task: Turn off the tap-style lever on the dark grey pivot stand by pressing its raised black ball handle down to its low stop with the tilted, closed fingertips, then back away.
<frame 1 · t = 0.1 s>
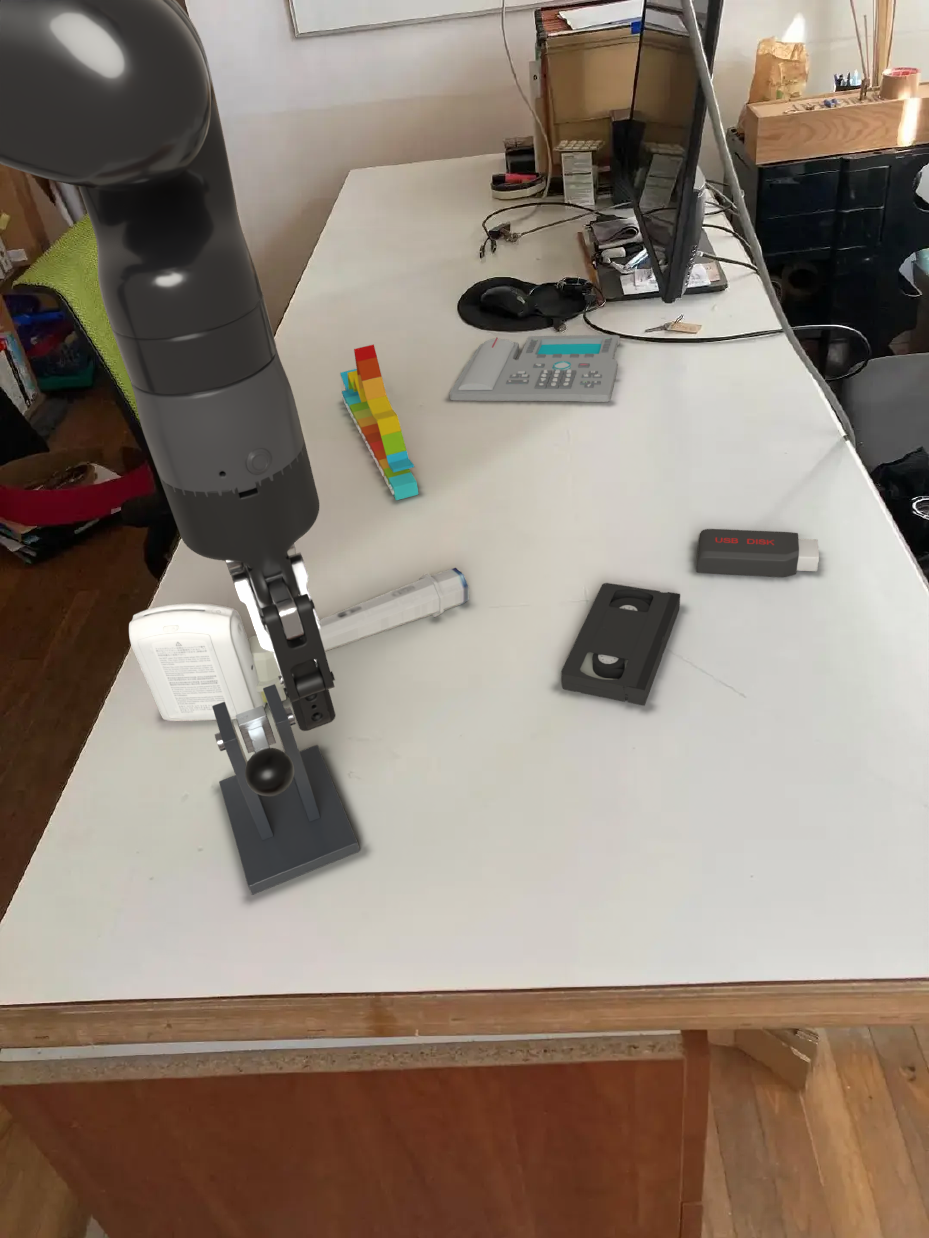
hand: (299, 678, 57), 23 cm above the table, tool pointing down, fingers open, 8 cm apart
vhs tape: (622, 649, 90), on the table
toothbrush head: (359, 650, 94), on the table, touching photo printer
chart: (377, 446, 127), on the table
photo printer: (216, 709, 90), on the table, touching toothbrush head
tap lever: (262, 749, 66), point 13 cm above the table, hinge at 25.0°
usb drive: (755, 562, 98), on the table
office telephone: (540, 372, 139), on the table
dark grey pivot stand: (288, 819, 78), on the table
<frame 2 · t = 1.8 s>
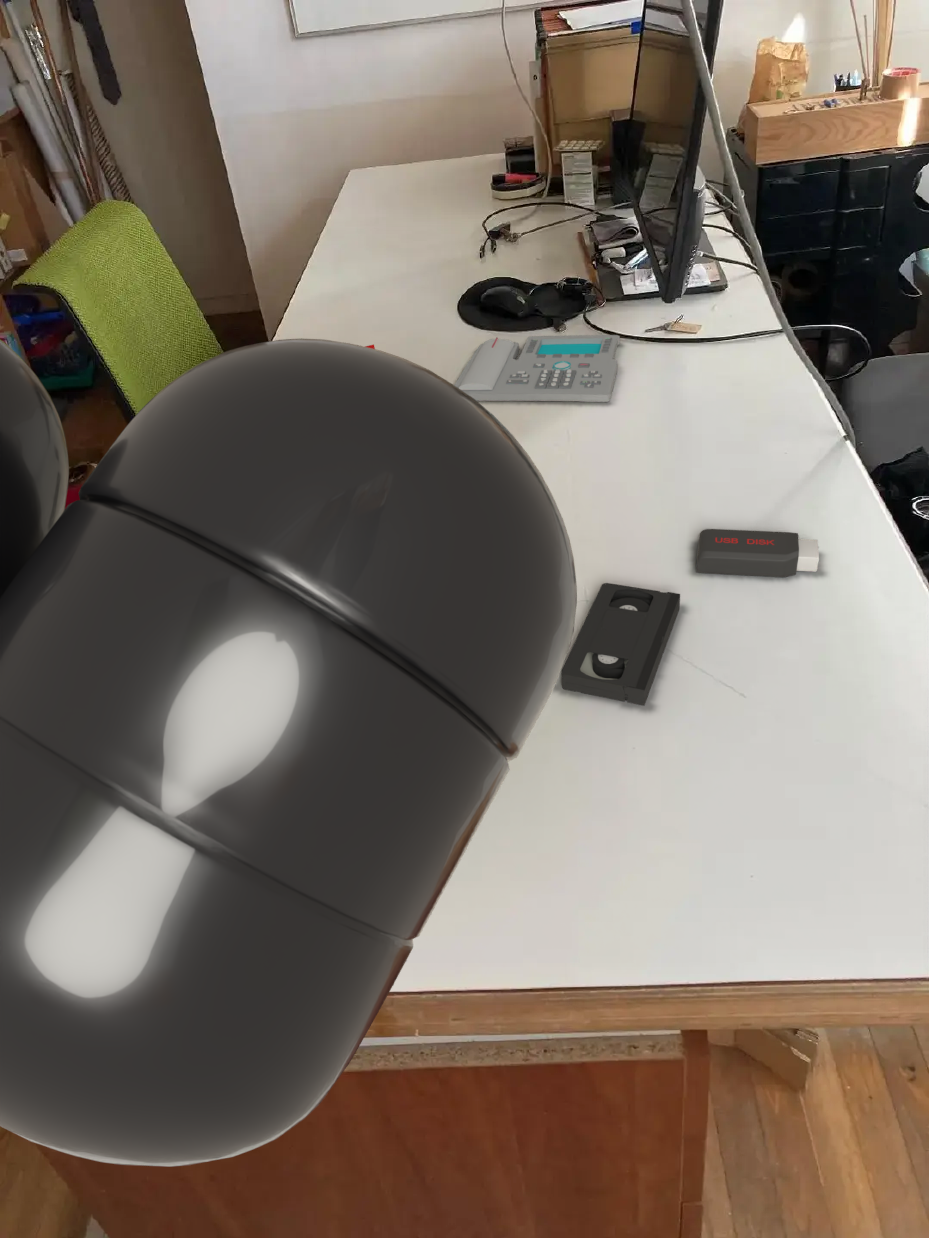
hand: (266, 761, 44), 28 cm above the table, tool tilted 45°, fingers open, 8 cm apart
nothing on the table moved.
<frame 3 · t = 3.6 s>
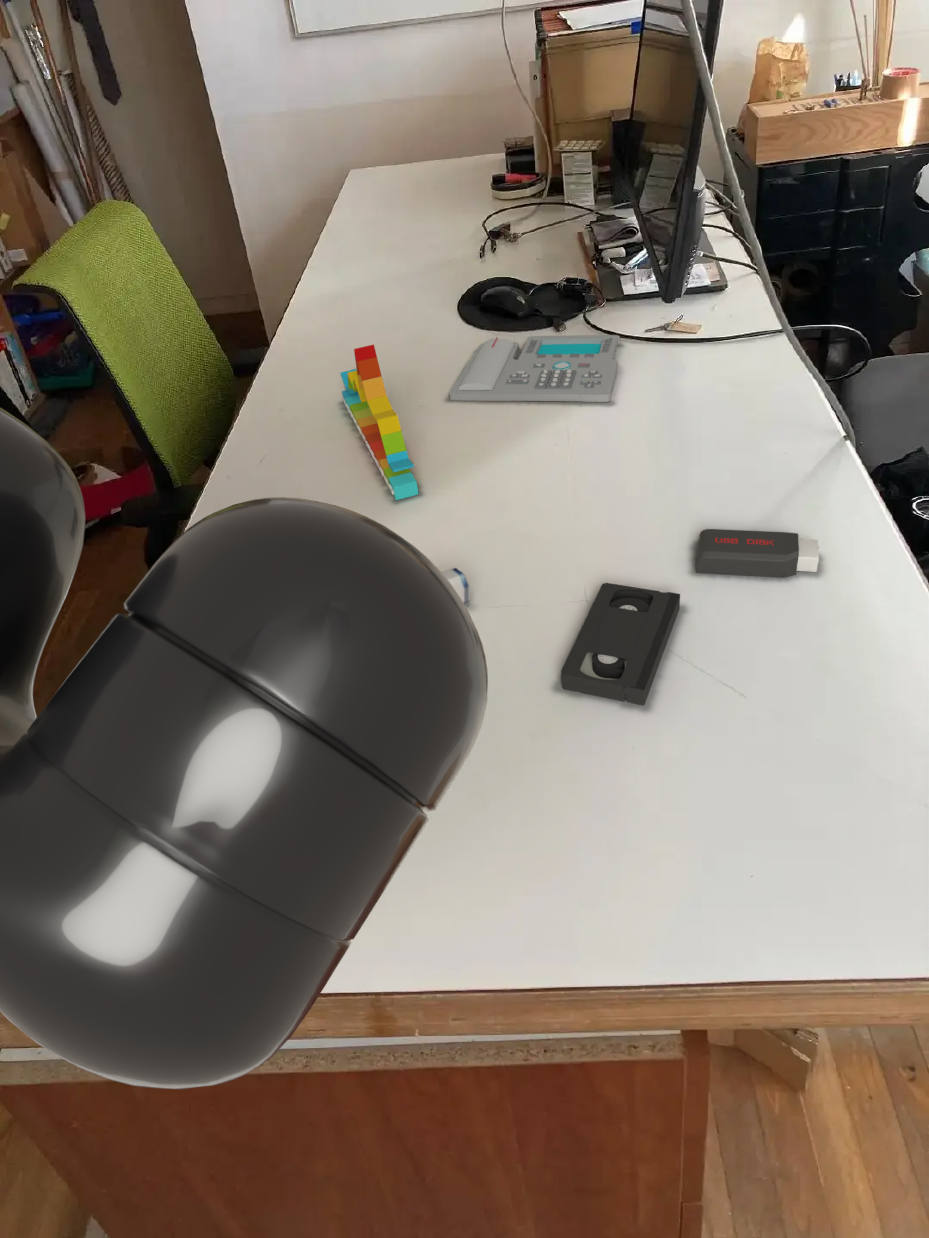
hand: (263, 765, 50), 24 cm above the table, tool tilted 45°, fingers closed
nothing on the table moved.
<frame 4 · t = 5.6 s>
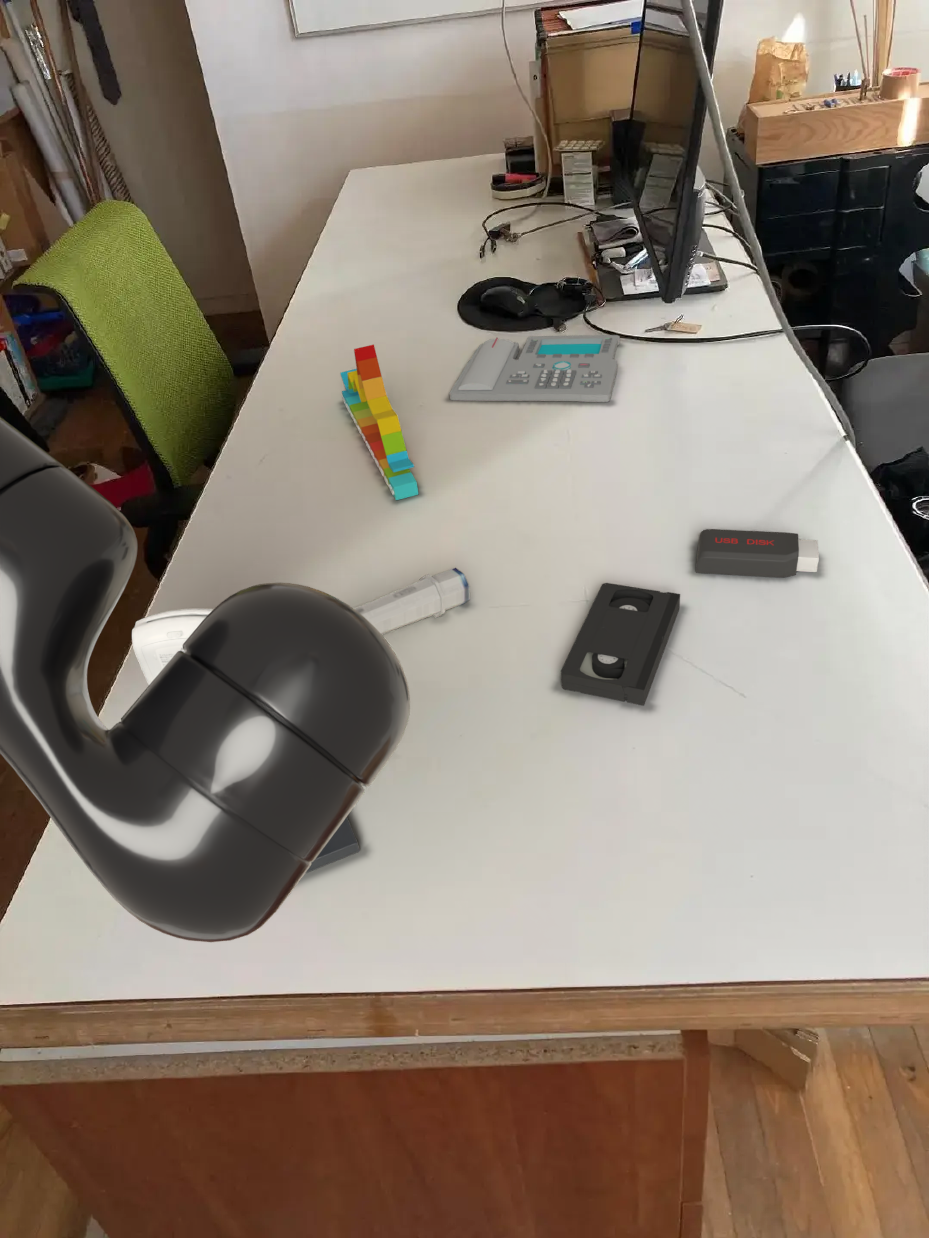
hand: (265, 761, 60), 17 cm above the table, tool tilted 45°, fingers closed
tap lever: (263, 751, 66), point 13 cm above the table, hinge at 23.3°, touching gripper
everything else where it was.
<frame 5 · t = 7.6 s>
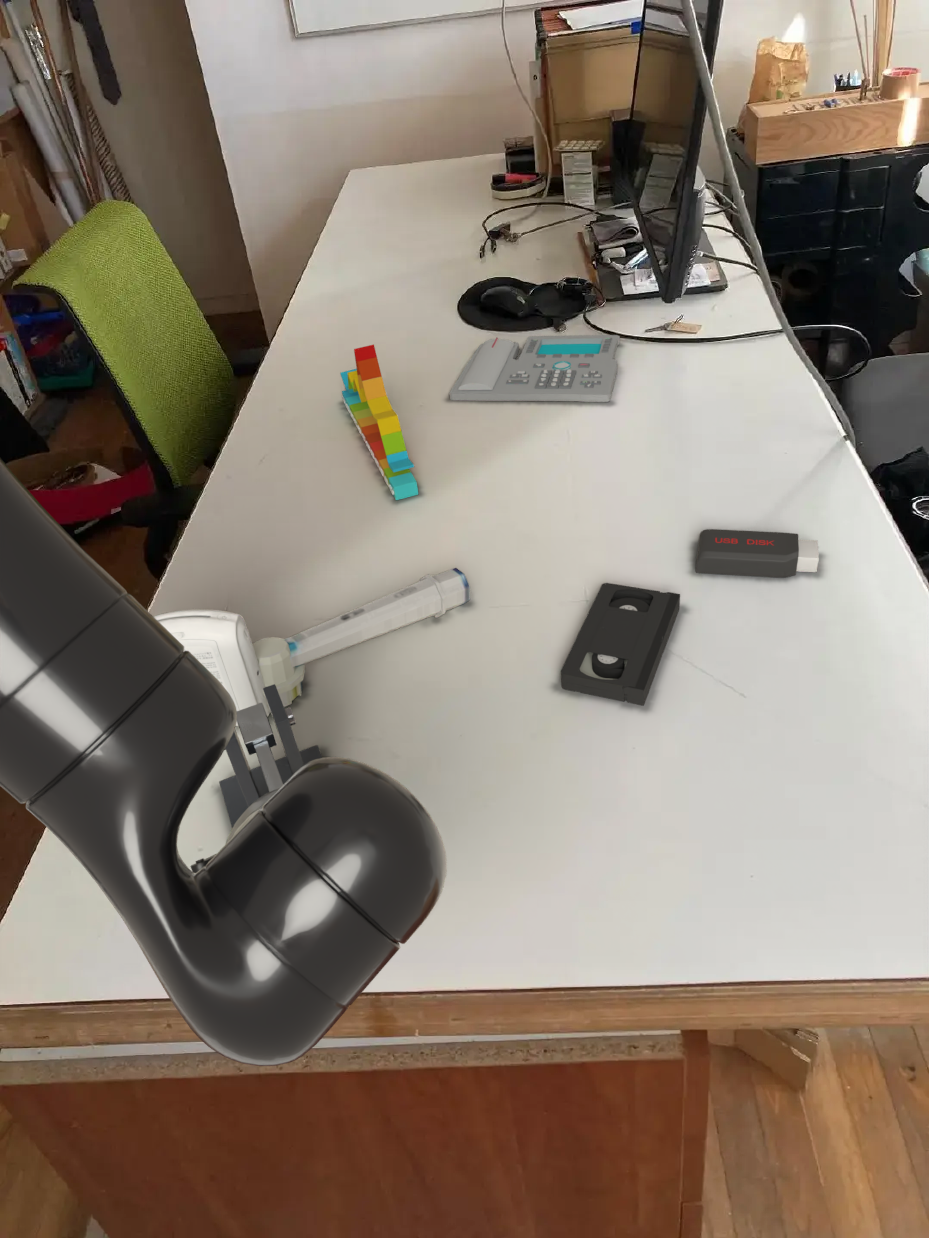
hand: (293, 835, 65), 9 cm above the table, tool tilted 45°, fingers closed
tap lever: (276, 788, 69), point 9 cm above the table, hinge at -23.5°, touching gripper
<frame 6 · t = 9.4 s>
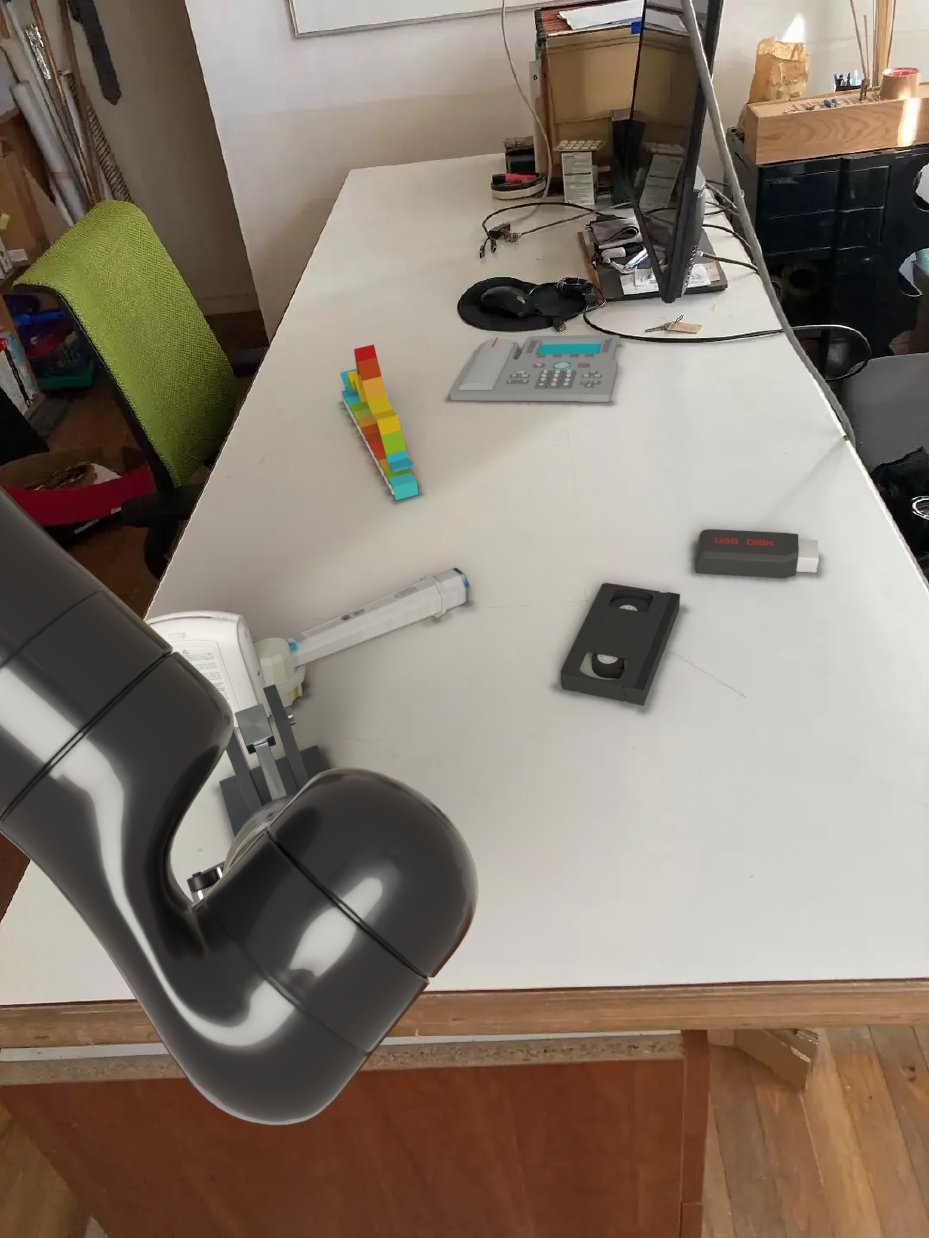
hand: (296, 845, 62), 12 cm above the table, tool tilted 45°, fingers closed
tap lever: (277, 789, 69), point 9 cm above the table, hinge at -28.5°
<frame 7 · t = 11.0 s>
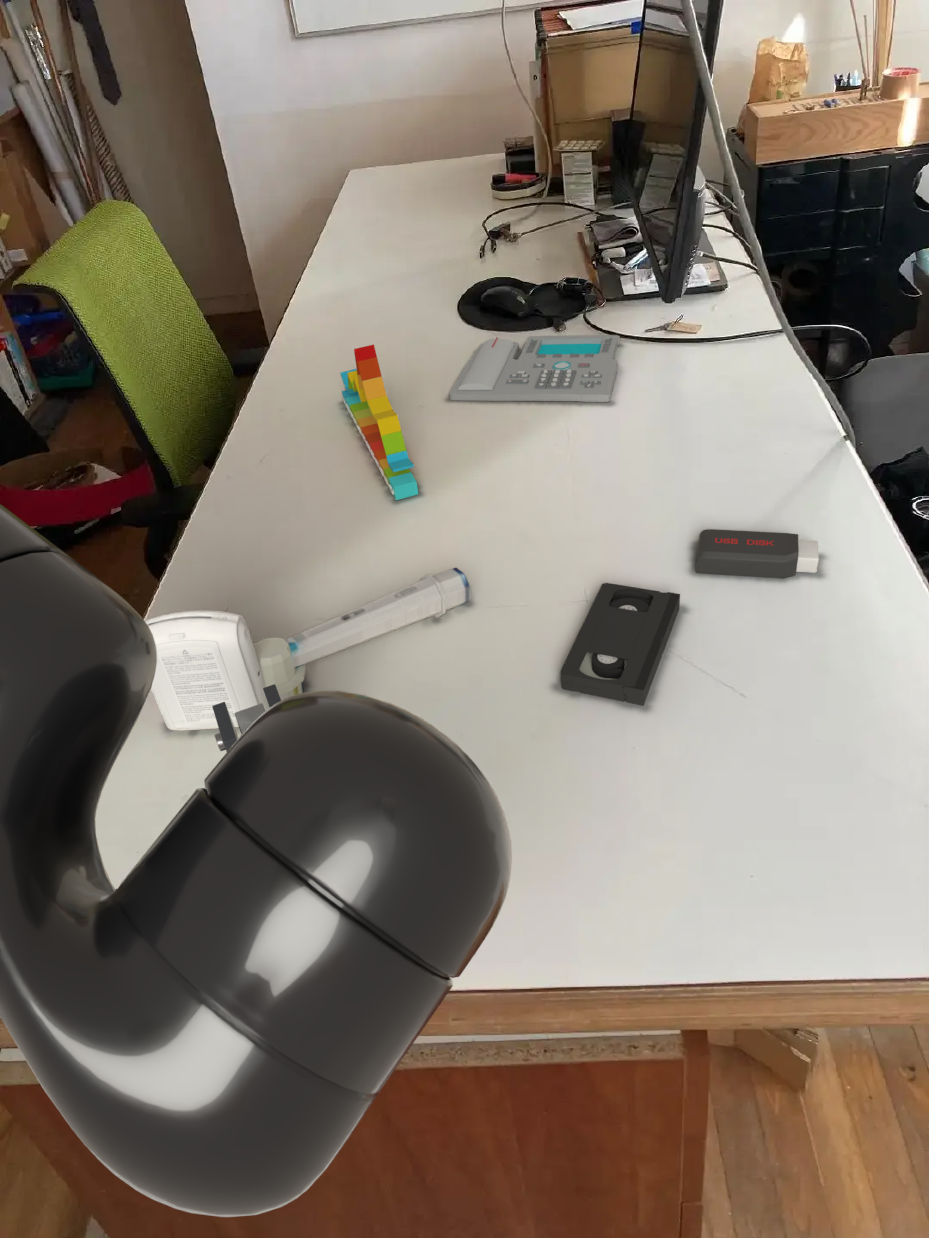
hand: (280, 827, 53), 19 cm above the table, tool tilted 45°, fingers closed
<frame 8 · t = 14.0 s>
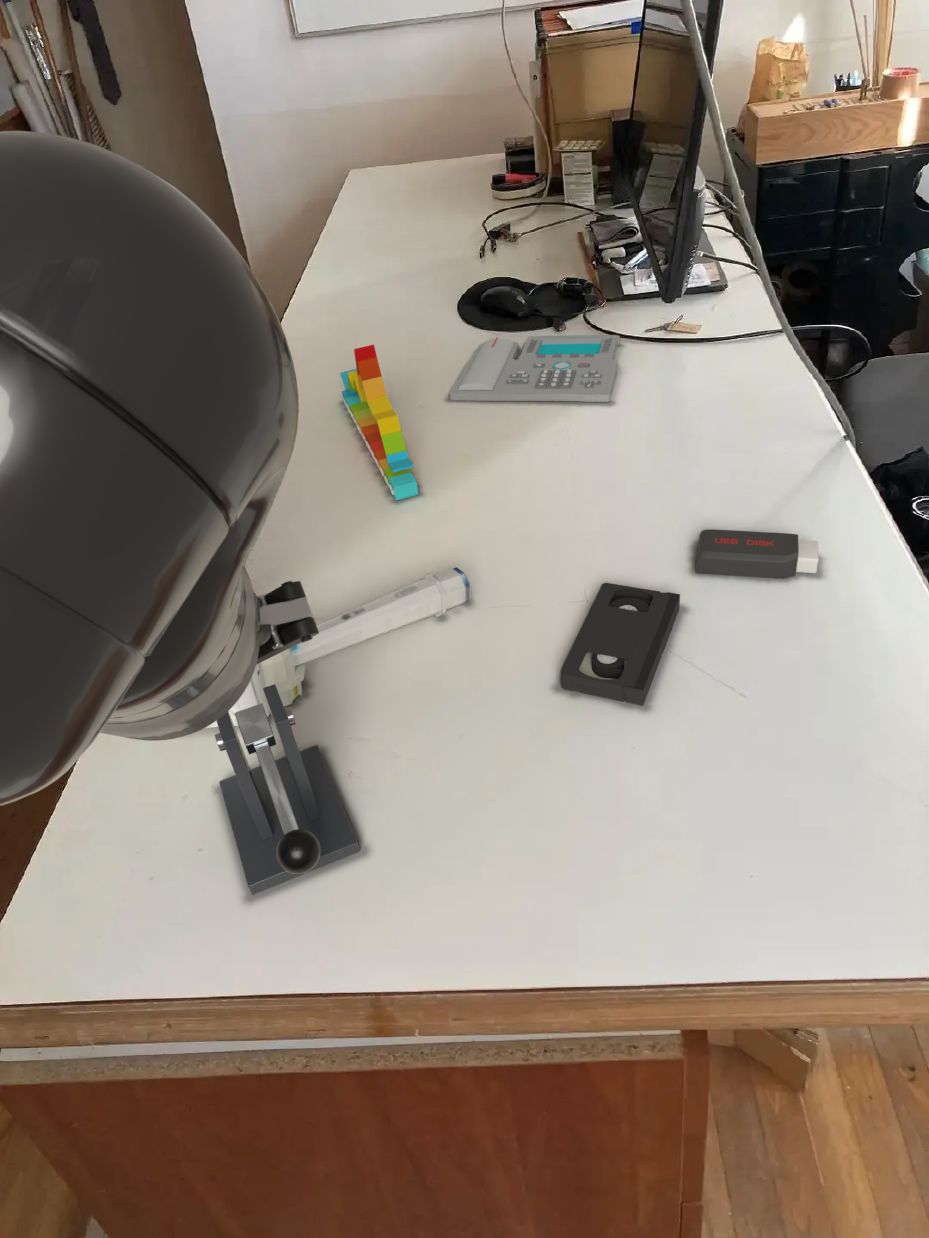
hand: (189, 673, 48), 30 cm above the table, tool tilted 45°, fingers closed
at the end: tap lever at -28° (first picture: +25°); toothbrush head moved 0.6 cm from its start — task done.
